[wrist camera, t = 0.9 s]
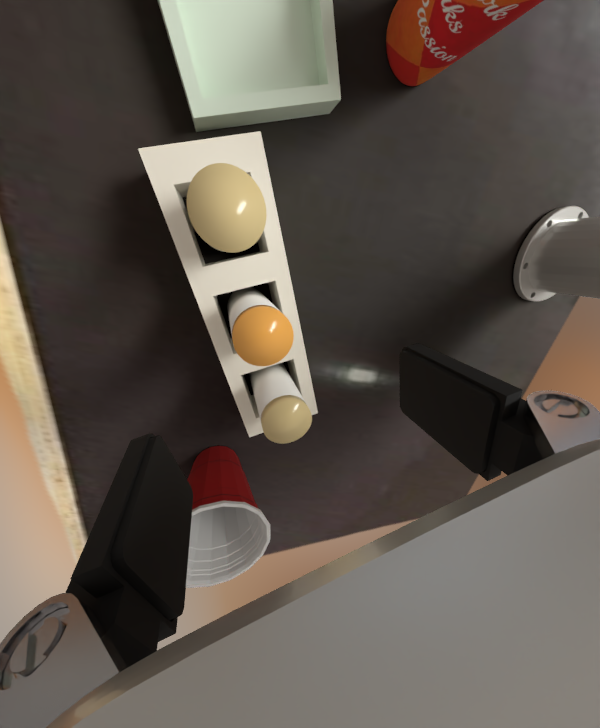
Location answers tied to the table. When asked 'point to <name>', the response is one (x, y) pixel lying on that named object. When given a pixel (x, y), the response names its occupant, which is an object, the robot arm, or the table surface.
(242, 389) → the holder
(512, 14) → the coffee cup
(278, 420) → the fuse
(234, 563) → the plastic cup
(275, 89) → the tray
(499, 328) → the table surface
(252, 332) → the white and orange cylinder
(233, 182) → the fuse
